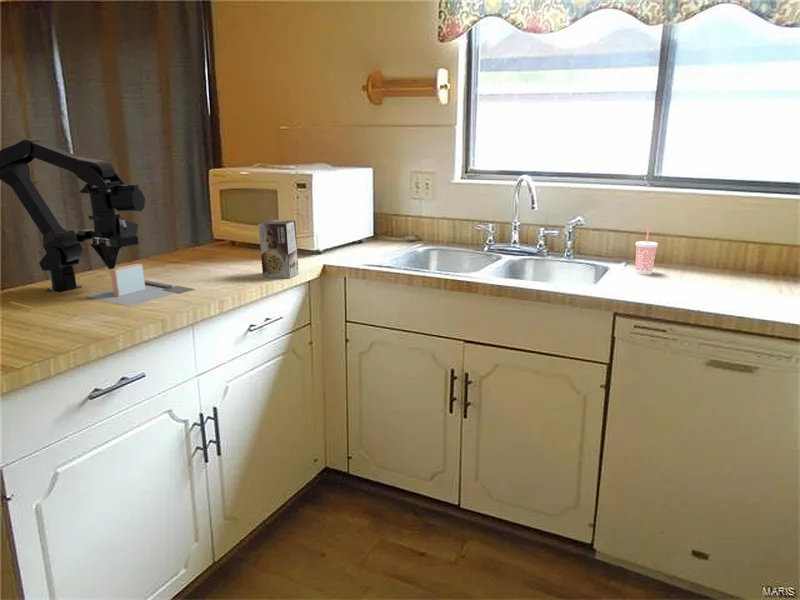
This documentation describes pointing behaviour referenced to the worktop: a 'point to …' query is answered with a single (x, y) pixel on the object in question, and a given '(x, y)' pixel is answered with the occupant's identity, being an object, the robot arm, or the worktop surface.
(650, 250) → the beverage cup
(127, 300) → the mat
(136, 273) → the tile
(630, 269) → the worktop surface
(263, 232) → the coffee box
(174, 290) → the turner
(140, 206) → the robot arm
